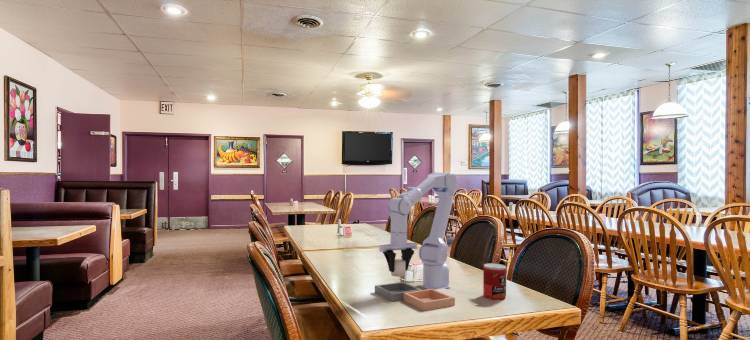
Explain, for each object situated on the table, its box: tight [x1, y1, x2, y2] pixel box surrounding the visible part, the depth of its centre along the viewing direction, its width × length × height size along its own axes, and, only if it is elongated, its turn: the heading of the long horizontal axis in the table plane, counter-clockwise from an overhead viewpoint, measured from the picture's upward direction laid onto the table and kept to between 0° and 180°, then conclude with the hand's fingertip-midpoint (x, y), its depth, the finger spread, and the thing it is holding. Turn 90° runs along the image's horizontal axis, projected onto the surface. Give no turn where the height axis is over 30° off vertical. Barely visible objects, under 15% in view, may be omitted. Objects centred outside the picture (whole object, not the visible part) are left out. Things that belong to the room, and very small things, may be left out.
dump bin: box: [402, 288, 456, 312], centre depth 139 cm, size 12×12×3 cm
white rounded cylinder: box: [390, 258, 407, 278], centre depth 148 cm, size 5×5×5 cm
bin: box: [374, 281, 423, 303], centre depth 148 cm, size 12×12×3 cm
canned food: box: [482, 262, 507, 301], centre depth 149 cm, size 8×8×11 cm
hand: (398, 270), depth 148 cm, fingers closed on white rounded cylinder, 5 cm apart
